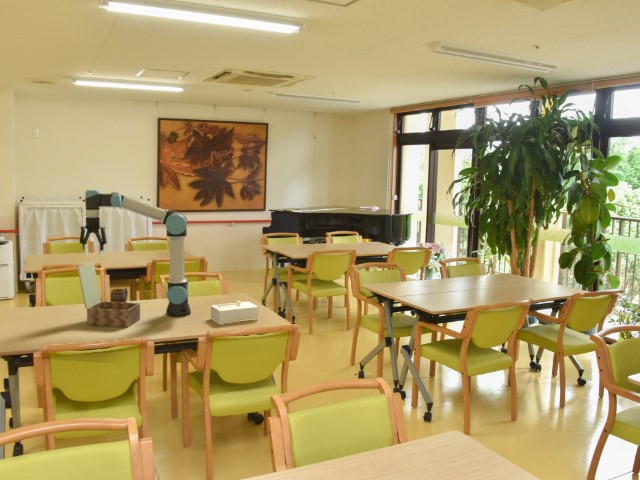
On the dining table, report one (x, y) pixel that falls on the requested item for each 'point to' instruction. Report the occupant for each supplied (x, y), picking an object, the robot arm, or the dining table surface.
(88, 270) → the lid
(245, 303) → the tissue box
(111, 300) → the mug
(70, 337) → the dining table surface
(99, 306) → the box
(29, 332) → the dining table surface
